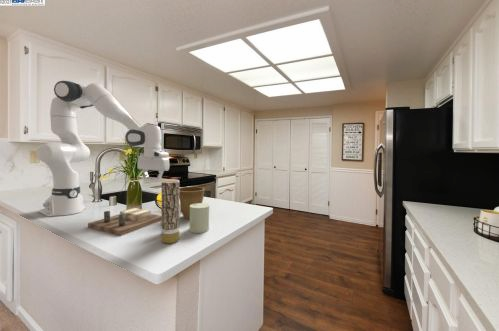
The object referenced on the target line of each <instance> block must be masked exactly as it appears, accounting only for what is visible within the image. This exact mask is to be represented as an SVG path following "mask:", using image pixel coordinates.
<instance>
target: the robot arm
mask: <svg viewBox="0 0 499 331" xmlns="http://www.w3.org/2000/svg"><path fill="white" fill-rule="evenodd" d="M53 92H54V96H55V97H53V98H52V99H51V101H50V102H51V103H50V111H49V113H50V116H49V117H50V118H49V119H50V130H51V132H52V133H53V134H54V135H56V136H57V137H58V138H59V139H60V141H61V142H54V141H53V142H47V143H42V144H40V145H39V146H38V147H37V149H36V156H37V159H38V160H39V161H40V162H42V163H44V164H45V165H47V167H48V168H49V170H50V172H51V175H52V182H53V183H52V184H53V188H52V189H51V194H50V196H49V197H48V198H47V199H46V200H45V201H44V202H43V204H42V205H43V208H42V209H39V210H38V212H39V213H40V214H42V215H44V216H45V217H57V216H59V217H60V216H69V215H70V216H71V215H74V214H78V213H82V212H83V211H84V210H85V209H86V206H85V205H84V197H83V195H82V194H81V186H80V173H79V172H78V171H76V170H75V169H73V168H72V166H71V164H70V163H79V162H83V161H86V160H88V159H89V158H90V155H91V150H90V148H89V147H88V146H87V145H86V144H85V143H84V142H83V141H82V139H81V137H80V135H79V131H78V120H77V117H78V116H77V110H78V108H79V109H86V108H92V107H94V108H95V110H96V111H98V112H99V114H101V115H102V116H104V117H105V118H108V119H111V120H113V121H116V122H118V123H120V124H122V125H124V127H126V129H128V131H127V132H126V133H125V137H124V138H125V139H124V140H125V142H126V144H128V145H129V146H130V147H133V148H134V147H135V148H136V147H137V148H143V147H144V148H143V152H141V153H139V154H140V156H139V155H138V158H137V169H138V170H142V173H143V175H144V176H143V177H144V178H145V179H146V178H150V175H149V173H148V171H158V173H159V174H158V175H157V177H156V178H157V179H158V180H161V179H162V178H163V174H164V172H165V171H166V172H167V171H169V170H170V159H169V157H170V156H169V155H170V154H169V152H167V151H165V150H163V149H162V144H161V143H162V131H161V127H160V126H159V125H157V124H155V123H150V122H148V123H147V122H146V123H144V124H143V125H142V126H141V124H139V123H138V121H137V120H135V119H134V118H133V116H131V115H130V114H129V113H128V111H127V110H126V109H125V108H124V107H123V106H122V105H121V104H120V102H119V101H118V100H117V99H116V97H114V96H113V95H112V93H111V92H109V90H108V89H106V88H105V87H104V86H103V85H102V84H100V83H95V82H93V83H90V84H88V85H86V86H85V85H82V84H79V83H76V82H73V81H70V80H60V81H59V80H58V81H57V82H56V83H55V85H54V88H53ZM162 180H163V179H162Z"/></svg>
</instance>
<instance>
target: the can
mask: <svg viewBox="0 0 499 331" xmlns="http://www.w3.org/2000/svg"><path fill="white" fill-rule="evenodd" d="M210 207H211V206H210V204H208V203H205V202H202V203H196V204H191V205H190V219H189V228H188V230H189V232H191V233H193V234H194V233H195V234H201V233H202V234H203V233H206V232H208V231H209V230H210Z"/></svg>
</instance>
